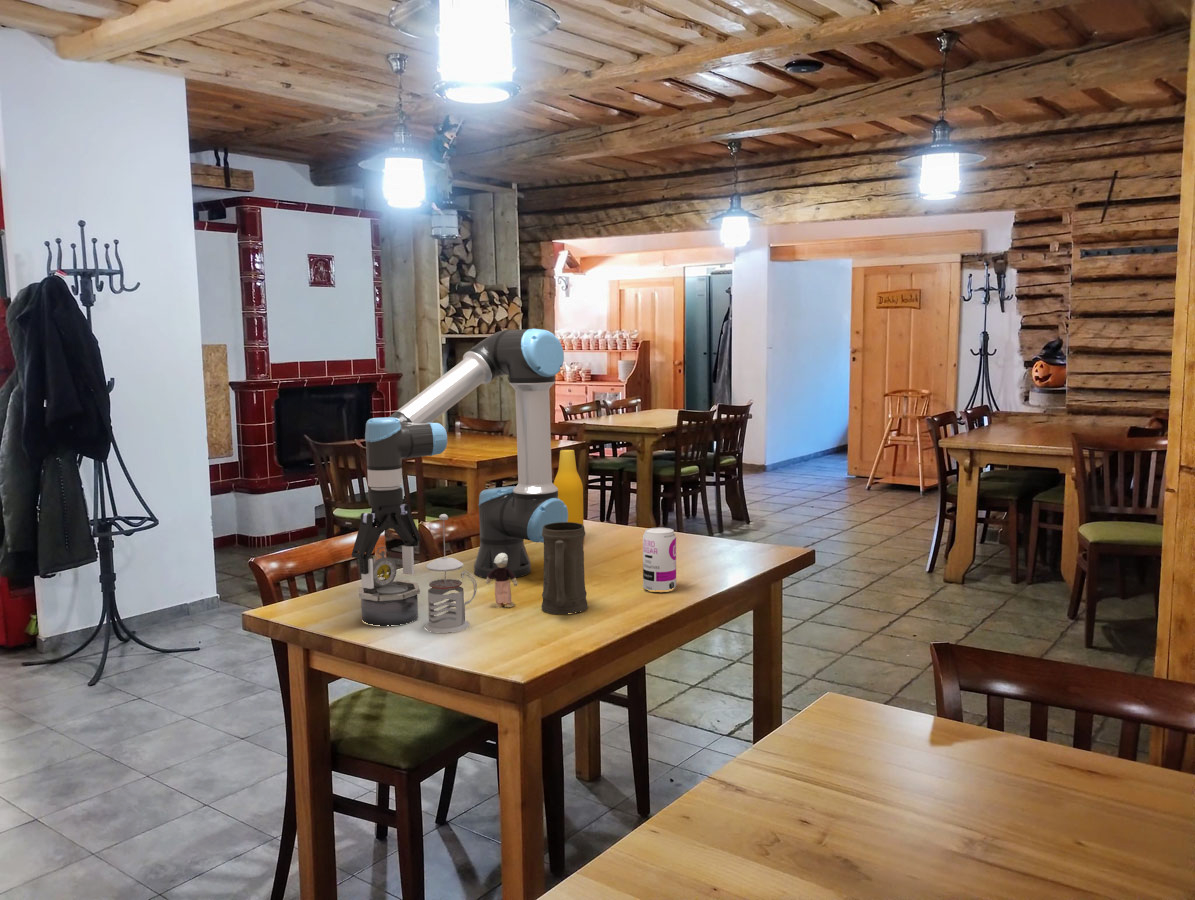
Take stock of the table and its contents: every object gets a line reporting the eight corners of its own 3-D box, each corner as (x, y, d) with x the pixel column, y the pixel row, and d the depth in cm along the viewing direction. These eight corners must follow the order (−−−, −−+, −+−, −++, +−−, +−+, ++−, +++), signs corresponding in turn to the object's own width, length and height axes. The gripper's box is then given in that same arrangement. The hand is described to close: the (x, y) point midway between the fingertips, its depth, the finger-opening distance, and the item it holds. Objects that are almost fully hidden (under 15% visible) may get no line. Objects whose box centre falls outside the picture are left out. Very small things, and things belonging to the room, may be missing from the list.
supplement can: (679, 586, 240) (679, 528, 238) (671, 595, 232) (671, 534, 230) (648, 584, 243) (648, 526, 241) (639, 592, 235) (638, 532, 233)
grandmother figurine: (519, 603, 226) (517, 551, 225) (518, 608, 223) (516, 554, 221) (486, 604, 226) (485, 551, 225) (485, 608, 222) (483, 555, 221)
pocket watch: (400, 598, 210) (398, 553, 209) (365, 596, 212) (363, 552, 211) (414, 588, 218) (413, 545, 217) (380, 586, 220) (378, 544, 219)
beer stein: (540, 601, 227) (539, 520, 224) (585, 600, 228) (584, 519, 225) (542, 625, 212) (541, 538, 209) (590, 623, 213) (589, 537, 210)
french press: (430, 619, 215) (427, 509, 212) (481, 620, 213) (478, 510, 211) (418, 632, 205) (414, 518, 202) (471, 633, 204) (468, 518, 201)
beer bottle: (583, 549, 284) (582, 452, 280) (552, 549, 284) (550, 452, 280) (584, 542, 293) (583, 448, 289) (554, 542, 293) (552, 449, 290)
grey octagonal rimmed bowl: (417, 608, 224) (416, 578, 223) (422, 624, 211) (421, 593, 210) (359, 613, 220) (357, 583, 219) (361, 629, 207) (360, 598, 206)
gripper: (408, 478, 225) (411, 566, 227) (332, 494, 203) (336, 591, 205) (434, 480, 221) (437, 570, 223) (358, 497, 199) (362, 596, 202)
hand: (388, 580), depth 214 cm, fingers open, 13 cm apart
